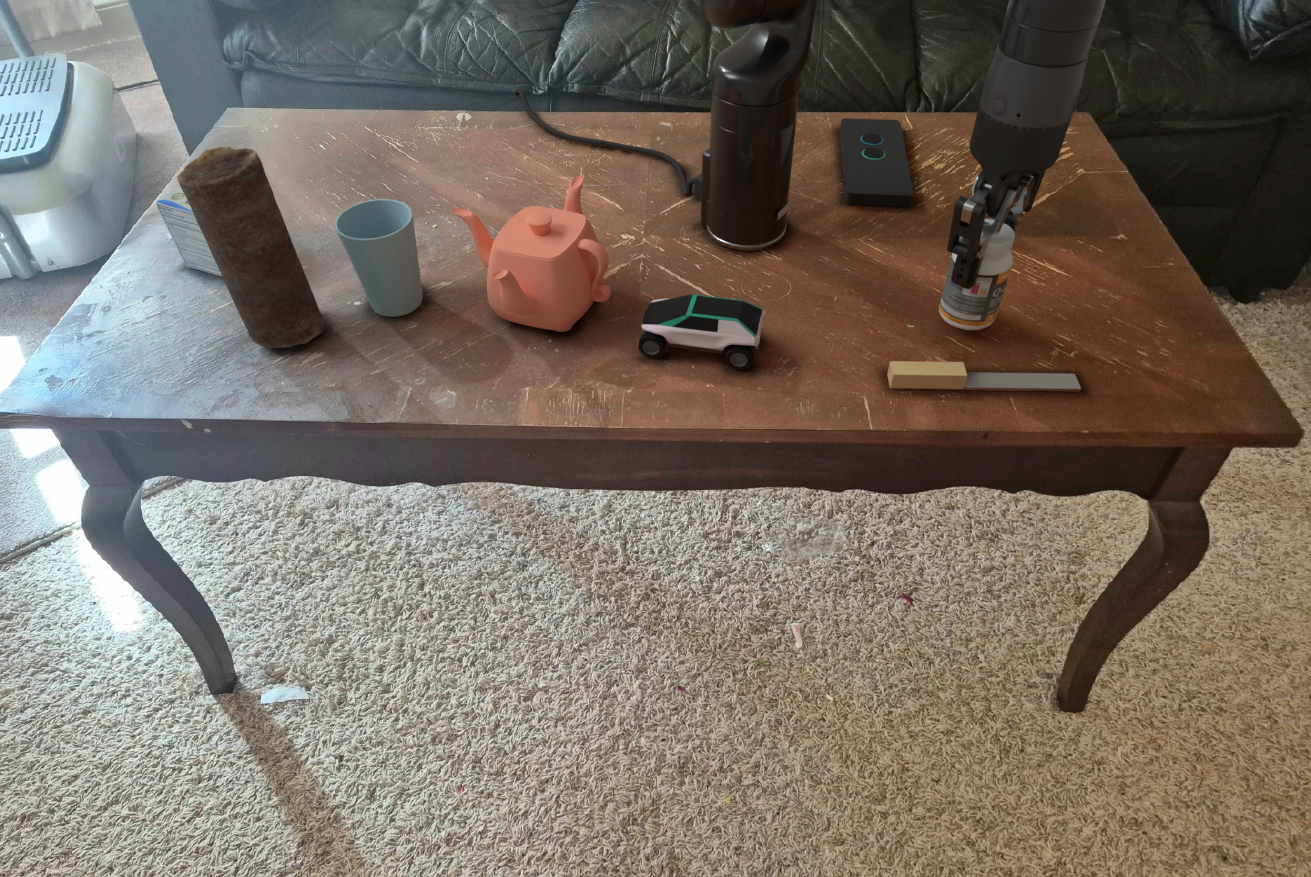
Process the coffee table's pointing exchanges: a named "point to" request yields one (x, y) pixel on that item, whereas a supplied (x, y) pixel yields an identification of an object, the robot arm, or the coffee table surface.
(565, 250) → the teapot
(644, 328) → the toy car
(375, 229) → the cup
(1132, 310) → the coffee table surface
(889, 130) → the smart home device
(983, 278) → the pill bottle
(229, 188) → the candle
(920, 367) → the knife
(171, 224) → the medicine box
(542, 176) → the coffee table surface
